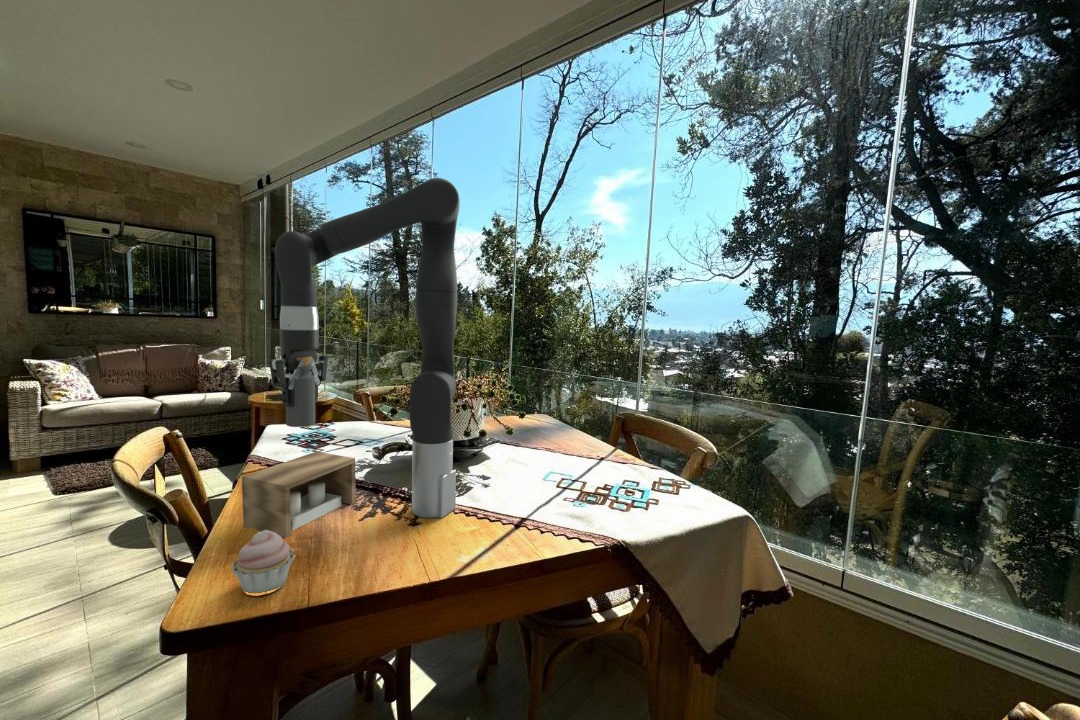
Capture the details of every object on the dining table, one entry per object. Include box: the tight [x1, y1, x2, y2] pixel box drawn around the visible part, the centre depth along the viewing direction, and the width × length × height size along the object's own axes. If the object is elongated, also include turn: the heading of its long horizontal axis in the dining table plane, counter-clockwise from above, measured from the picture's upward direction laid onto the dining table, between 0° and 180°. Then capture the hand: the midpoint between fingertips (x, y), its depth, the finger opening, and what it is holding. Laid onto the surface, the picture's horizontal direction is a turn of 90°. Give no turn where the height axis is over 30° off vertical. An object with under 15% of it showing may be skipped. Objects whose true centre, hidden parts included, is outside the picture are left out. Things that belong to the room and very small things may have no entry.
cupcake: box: [231, 530, 296, 593], centre depth 81 cm, size 9×9×10 cm
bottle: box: [285, 356, 316, 428], centre depth 106 cm, size 6×6×15 cm
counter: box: [241, 451, 357, 539], centre depth 109 cm, size 12×20×11 cm, turn 160°
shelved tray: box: [290, 482, 343, 531], centre depth 109 cm, size 8×14×6 cm, turn 160°
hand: (301, 403), depth 106 cm, fingers closed on bottle, 6 cm apart
